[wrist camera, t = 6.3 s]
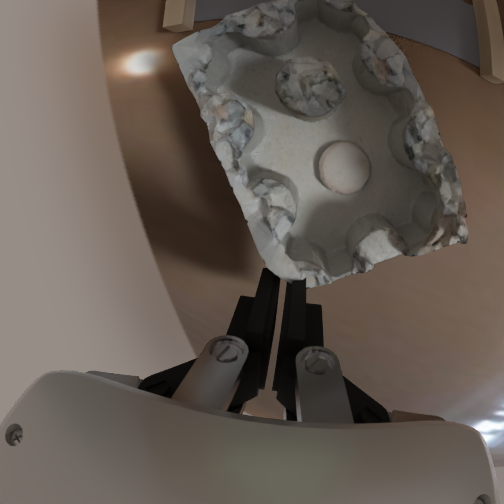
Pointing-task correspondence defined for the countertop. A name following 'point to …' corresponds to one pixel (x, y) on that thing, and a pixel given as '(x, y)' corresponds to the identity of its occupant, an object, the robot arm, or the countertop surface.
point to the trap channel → (487, 19)
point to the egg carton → (323, 138)
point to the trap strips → (394, 21)
